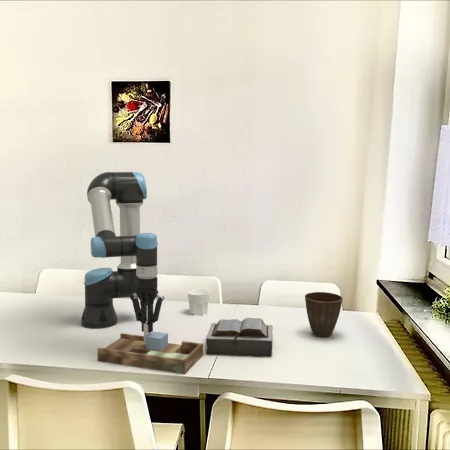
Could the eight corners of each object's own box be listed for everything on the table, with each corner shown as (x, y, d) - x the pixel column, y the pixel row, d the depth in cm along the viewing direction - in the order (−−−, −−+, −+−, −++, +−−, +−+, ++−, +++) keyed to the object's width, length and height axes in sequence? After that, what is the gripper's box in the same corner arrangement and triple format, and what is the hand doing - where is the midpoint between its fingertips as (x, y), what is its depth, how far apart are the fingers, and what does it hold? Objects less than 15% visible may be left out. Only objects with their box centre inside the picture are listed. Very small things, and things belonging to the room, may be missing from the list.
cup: (208, 316, 231) (209, 295, 230) (186, 316, 231) (186, 294, 230) (209, 310, 241) (210, 289, 240) (188, 309, 241) (188, 289, 240)
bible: (269, 363, 179) (269, 336, 178) (196, 354, 187) (196, 328, 185) (280, 341, 202) (281, 316, 200) (215, 334, 209) (215, 310, 208)
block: (145, 348, 182) (145, 336, 182) (153, 343, 188) (153, 331, 188) (160, 351, 181) (160, 338, 180) (168, 345, 186) (168, 333, 186)
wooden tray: (97, 361, 179) (97, 348, 178) (121, 344, 195) (121, 333, 194) (185, 373, 169) (185, 360, 168) (203, 355, 185) (203, 343, 184)
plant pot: (347, 334, 208) (349, 296, 206) (328, 344, 198) (329, 303, 196) (316, 326, 219) (318, 290, 217) (296, 335, 208) (297, 296, 206)
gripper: (125, 277, 181) (126, 341, 184) (158, 280, 177) (159, 346, 180) (135, 273, 188) (136, 335, 191) (167, 275, 184) (168, 339, 187)
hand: (147, 340), depth 185 cm, fingers closed
